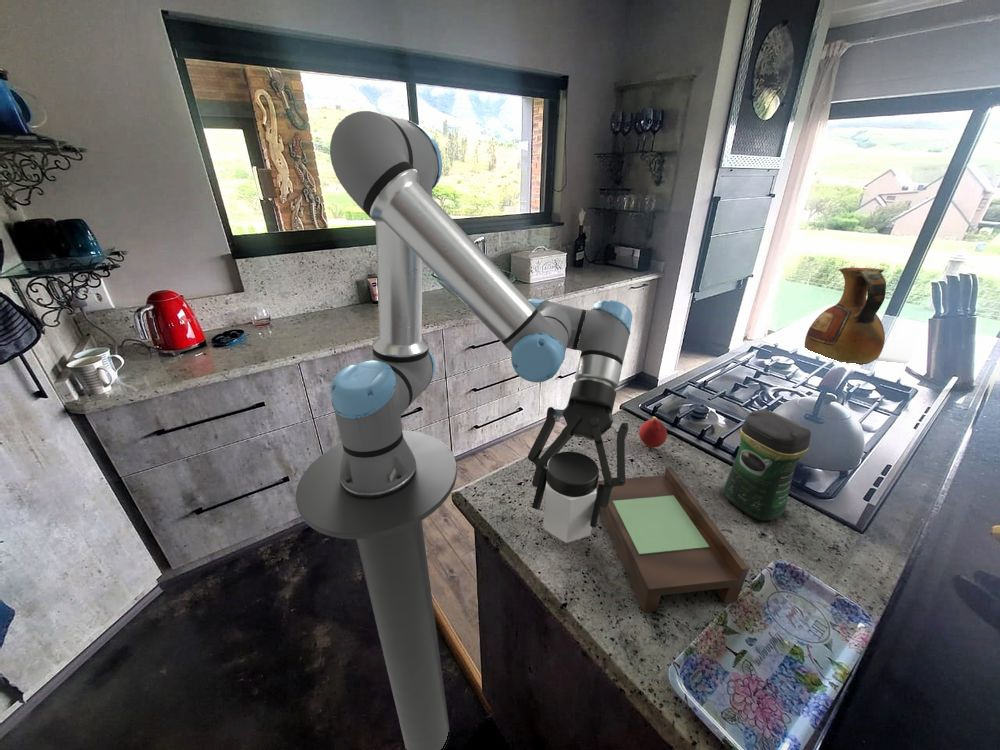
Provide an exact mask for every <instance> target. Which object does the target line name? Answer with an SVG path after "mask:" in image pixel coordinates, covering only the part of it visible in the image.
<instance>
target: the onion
mask: <svg viewBox="0 0 1000 750" xmlns="http://www.w3.org/2000/svg"><path fill="white" fill-rule="evenodd" d="M638 436H639V438H640V441H641V442H642V443H643V444H644V445H645V446H646V447H647V448H649V449H654V448H658V447H660V446H662V445H664V443H666V440H667V439H668V438H667V437H668V431H667V428H666V426H665V425H664V424H663V422H661V420H659V419H658V418H657V417H656V416H652V418H650V419H648V420H645V421H644V422H643V423H642V424H641V426H640V427H639V431H638Z"/></svg>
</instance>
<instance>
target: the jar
mask: <svg viewBox="0 0 1000 750" xmlns="http://www.w3.org/2000/svg"><path fill="white" fill-rule="evenodd" d="M546 469H547V471H546V487H545V491H544V508H543V509H544V510H543V524H542V529H543V530H544V531H546V532H548V533H549V534H550V535H552V536H554V537H555V538H557V539H559V540H561V541H562V542H564V543H565V544H567V543H572V542H574V541H577V540H581V539H583V538H588V537H591V535H592V530H593V527H591V526H590V522H591V518H592V513H593V509H594V504H595V500H596V494H597V488H596V487H597V483H598V481H599V477H600V475H599V474H600V470H599V466H598V464H597V462H596V461H595V460H594V459H593V458H592V457H590V456H588V455H586V454H584V453H582V452H577V451H561V452H558V453H557V454H555V455H553V456H552V457H551V458H550V459H549V460H548V463H547V467H546Z"/></svg>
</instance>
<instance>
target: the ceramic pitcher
mask: <svg viewBox="0 0 1000 750" xmlns="http://www.w3.org/2000/svg"><path fill="white" fill-rule="evenodd" d="M838 271H839V272H840V273H841V274H842V275H843V280H844V286H843V292H842V295H841V298H840V299H839V301H838V302H837V303H836V304H835V305H833V306H832V305H831V306H830V307H828V308H827V309H825V310H824V311H822V312H821V313H820V314H819V315H818V316H817V317H816V318H815V319H814V321H813V322H812V323H811V325H810V326H809V328H808V330H807V332H806V335H805V338H804V349H805V348H807V349H808V350H810V351H813V352H815V353H818V354H821V355H823V356H825V357H828V358H831V359H834V360H837V361H839V362H838V363H842V362H846V363H845V364H849V363H856V364H859V365H858V366H864V365H863V364H865V365H868V364H870V363H873V362H875V361H876V360H878V358H879V357H880V355H881V354H882V352H883V349H884V347H885V342H886V334H885V333H886V332H885V329H884V325H883V322H882V320H881V319H880V317H879V316H878V315H877V313H878V312H879V310H880V309H881V307H882V306H883V303H884V302H885V298H886V291H887V282H886V279H885V276H884V275H883V273H884V271H885V269H884V268H883V269H882V268H875V267H874V268H873V267H855V266H854V267H853V266H852V267H842V268H839V269H838Z"/></svg>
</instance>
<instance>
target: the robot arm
mask: <svg viewBox="0 0 1000 750" xmlns="http://www.w3.org/2000/svg"><path fill="white" fill-rule="evenodd" d="M329 155H330V156H329V158H330V161H331V166H332V169H333V172H334V174H335V176H336V178H337V180H338V181H339V183H340V184H341V186H342V187H343V189H344V190H345V192H346V193H347V194H348V196H349V198H351V199H352V201H353V202H354V203H355V204H356V205H357V206H358V207H359V209H361V210H362V212H364V214H366V215H367V217H369V218H370V220H372V222H375V223H374V225H375V247H376V249H375V250H376V273H377V274H376V275H377V276H376V277H377V301H378V302H377V304H378V324H379V325H378V327H379V328H378V329H379V330H378V331H379V336H377V337H376V338H375V339H374V340H373V341H372V344H371V345H372V360H365V361H360V362H358V363H357V364H350V365H348V366H346V367H344V368H343V369H341V371H339V372H338V373H337V374H336V375H335V376H334V378H333V379H332V382H331V385H330V393H331V405H332V409H333V411H334V415H335V420H336V425H337V428H338V432H339V436H340V441H341V443H342V445H343V456H342V462H341V468H340V481H341V485H342V488H343V489H344V491H345V492H346V493H348V494H349V495H351V496H353V497H356V498H361V499H377V498H382V497H386V496H389V495H392V494H394V493H396V492H398V491H400V490H401V489H403V488H404V487H406V486H407V485H408V484H409V483H410V482H411V481H412V479H413V478H414V476H415V474H416V469H417V468H416V460H415V457H414V455H413V453H412V451H411V449H410V448H409V446H408V444H407V442H406V441H405V439H404V437H403V432H402V430H403V425H402V414H404V412H405V411H407V409H408V408H409V407H410V406H411V405H412V403H414V402H415V401H416V400H417V399H418V398H419V397H420V396H421V394H422V393H424V392H425V391H426V390H427V389H428V388H429V386H430V384H431V382H432V381H433V379H434V377H435V375H436V360H435V357H434V355H433V353H431V352H430V348H429V342H428V340H427V339H426V338H425V337H424V336H422V335H423V334H422V333H423V332H422V331H423V329H422V328H423V268H424V267H423V266H424V265H426V267H427V268H429V269H430V270H431V272H432V273H433V274H434V275H435V276H436V277H437V278H438V279H439V280H440V281H441V282H442V283H443V284H444V285H445V286H446V287H447V288H448V289H449V290H450V291H451V292H452V293H453V294H454V295H455V296H456V297H457V298H458V299H459V300H460V301H461V302H462V303H463V304H464V305H465V306H466V307H467V308H468V309H469V310H470V311H471V312H472V314H473V315H475V317H477V318H478V320H479V321H480V322H481V323H482V324H483V325H485V327H486V328H487V329H488V330H489V331H490V332H491V333H492V334H493V335H494V336H495V337H496V338H497V339H498V340H499V341H500V342H501V343H502V345H504V347H506V349H507V350H508V351H509V352H511V354H510V358H511V359H510V362H511V365H512V367H513V370H514V372H515V373H516V374H517V376H519V377H520V378H522V379H523V380H525V381H527V382H531V383H536V384H537V383H543V382H547V381H549V380H551V379H553V378H554V377H555V375H556V374H557V373H558V372H559V370H560V368H561V366H562V365H563V363H564V360H565V359H566V351H567V349H569V350H573V351H580V356H579V359H578V362H577V366H576V370H575V375H574V380H575V381H574V382H573V383H572V386H571V390H570V394H569V398H568V402H567V405H566V406H565V407H563V409H559V408H554V407H553V406H549V407H548V408H547V409H546V416H545V417H546V418H545V421H544V423H543V425H542V426H541V428H540V430H539V432H538V434H537V436H536V438H535V441H534V443H533V444H532V447H531V449H530V451H529V452H528V454H527V460H528V461H529V462H531V463H532V464H534V465H535V470H534V475H533V478H532V482H531V484H532V487H534V488H536V490H535V494H534V498H533V502H532V505H531V509H535V510H538V511H540V510H541V506H542V502H543V498H544V496H545V491H546V471H547V463H548V460H549V459H550V458H551V457H552V456H553V455H555V454H557V453H560V451H561V450H562V449H563V448H564V447H565V445H566V444H567V443H568V442H569V441H570V440H571V439H572V438H573V437H576V438H584V439H586V440H589V441H594V444H595V449H596V453H597V456H598V461H599V466H600V470H601V473H602V479H603V480H604V485H602V484H599V486H598V491H597V495H596V500H595V504H594V509H593V513H592V518H591V522H590V526H591V527H592V528H595V529H596V528H597V526H598V525H597V524H598V520H599V515H600V513H599V511H600V507H601V506H602V507H605V508H607V506H608V505H609V500H610V495H611V490H612V488H613V487H616V486H624V485H625V479H626V445H625V444H626V438H627V435H628V432H629V425H628V423H626V422H622V423H621V422H618V421H615V420H614V419H613V410H614V406H615V402H616V398H617V391H616V390H617V389H618V388H619V383H620V379H621V374H622V370H623V364H624V361H625V357H626V351H627V348H628V344H629V340H630V337H631V336H630V335H631V334H632V333H631V328H632V322H633V312H632V310H631V308H630V307H628V305H626V304H625V303H622V302H620V301H617V300H614V299H613V300H612V299H610V300H599V301H597V302H595V303H594V304H593V306H592V308H591V309H583V308H580V307H579V308H578V307H575V306H572V305H571V306H570V305H566V304H562V303H557V302H554V301H551V300H548V299H540V298H539V299H537V298H530V299H529V298H527V296H525V295H524V294H523V292H521V290H520V289H519V288H518V287H517V286H516V285H515V283H513V282H512V281H511V280H510V278H508V277H507V275H506V274H505V273H504V272H503V271H502V269H500V268H499V267H498V265H496V264H495V263H494V261H492V260H491V259H490V257H489V256H488V255H487V254H486V253H485V252H484V251H483V250H482V249H481V248H480V247H479V246H478V244H476V243H475V241H473V239H472V238H471V237H470V236H469V235H468V234H467V233H466V232H465V231H464V229H462V227H461V226H460V225H458V224H457V222H456V221H455V220H454V219H453V218H452V217H451V216H450V215H449V213H447V211H445V209H444V208H443V207H442V206H441V205H439V203H438V202H437V201H436V200H435V199H434V198H433V190H434V189H435V188H436V186H437V185H438V183H439V182H440V179H441V176H442V171H443V158H442V153H441V151H440V149H439V145H438V144H437V141H436V140H435V139H434V137H433V136H432V134H431V133H430V132H429V131H428V130H426V129H425V128H424V127H423V126H420V125H418V124H417V123H415V122H413V121H411V120H409V119H404V118H399V117H393V116H390V115H384V114H382V113H380V112H379V113H378V112H376V111H371V110H360V111H355V112H352V113H350V114H348V115H346V116H345V117H344V118H342V120H340V122H338V124H337V125H336V126H335V128H334V131H333V132H332V134H331V139H330V144H329ZM423 264H424V265H423ZM561 418H563V419H564V421H565V423H566V425H565V426H564V427H563V429H562V430H561V432H560V433H559V434H558V436H556V438H555V439H554V441H553V442H552V443H551V444H550V445H549V447H548V448H547V449H546V450H545V451H544V452H543V450H544V448H545V445H546V444H547V441H548V440H549V438H550V435H551V434H552V432H553V430H554V428H555V426H556V423H557V422H559V421H560V419H561ZM611 428H612V429H613V434H614V436H615V437H616V477H612V474H611V470H610V466H609V462H608V457H607V454H606V449H605V445H604V441H603V438H602V435H604V434H605V433H606V432H607V431H608V430H609V429H611ZM542 452H543V454H542ZM541 454H542V455H541ZM540 455H541V456H540Z"/></svg>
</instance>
